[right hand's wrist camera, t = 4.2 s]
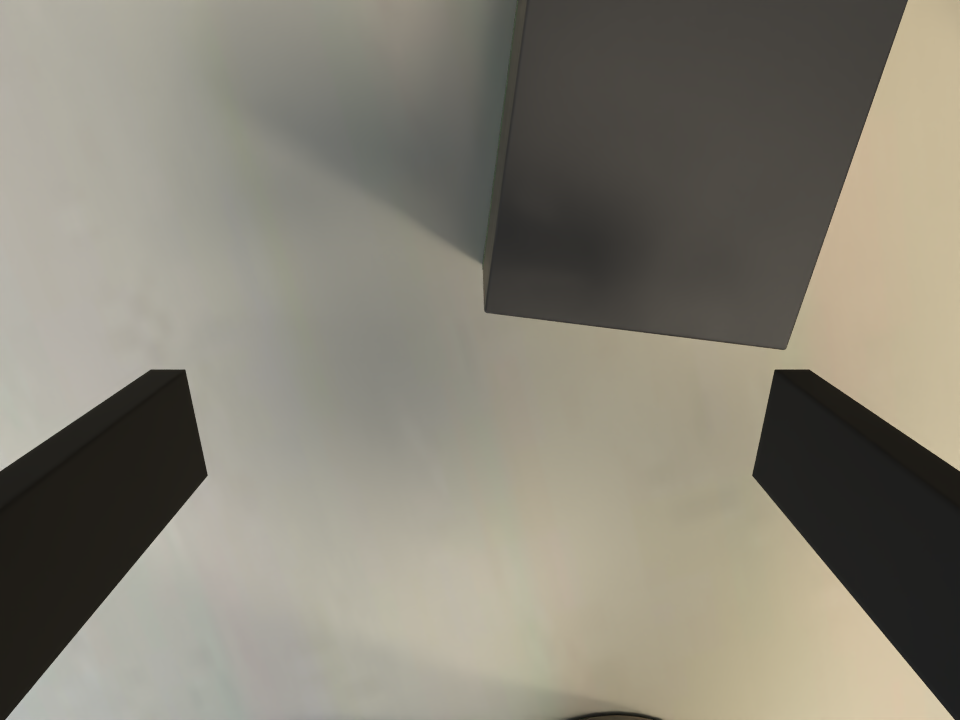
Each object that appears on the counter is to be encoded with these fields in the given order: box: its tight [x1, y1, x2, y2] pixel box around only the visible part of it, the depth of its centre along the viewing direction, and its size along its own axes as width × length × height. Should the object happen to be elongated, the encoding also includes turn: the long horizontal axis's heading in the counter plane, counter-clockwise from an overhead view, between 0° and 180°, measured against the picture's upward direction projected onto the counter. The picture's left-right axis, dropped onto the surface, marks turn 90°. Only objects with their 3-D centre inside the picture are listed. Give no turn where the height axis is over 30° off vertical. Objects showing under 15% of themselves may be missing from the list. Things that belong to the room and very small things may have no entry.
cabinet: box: [482, 0, 908, 350], centre depth 20 cm, size 19×11×8 cm, turn 173°
